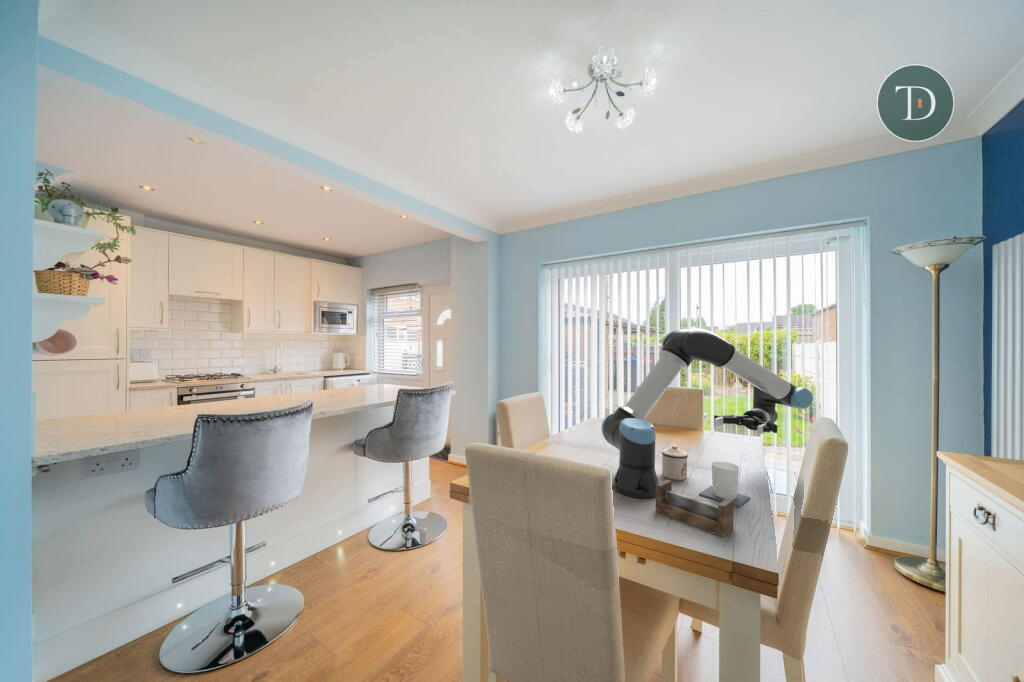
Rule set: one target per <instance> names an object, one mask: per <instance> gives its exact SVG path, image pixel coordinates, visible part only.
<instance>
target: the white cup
mask: <svg viewBox="0 0 1024 682" xmlns="http://www.w3.org/2000/svg"><path fill="white" fill-rule="evenodd" d="M739 473H740V466H739V465H737V464H734V463H731V462H728V461H718V460H717V461H712V462H711V481H712V486H713V493H714V495H716V496H717V497H720V498H724V499H727V498H731V499H736V497H737V493H738V488H739Z"/></svg>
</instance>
